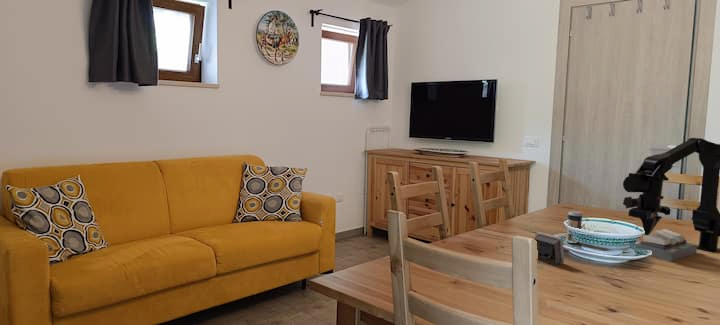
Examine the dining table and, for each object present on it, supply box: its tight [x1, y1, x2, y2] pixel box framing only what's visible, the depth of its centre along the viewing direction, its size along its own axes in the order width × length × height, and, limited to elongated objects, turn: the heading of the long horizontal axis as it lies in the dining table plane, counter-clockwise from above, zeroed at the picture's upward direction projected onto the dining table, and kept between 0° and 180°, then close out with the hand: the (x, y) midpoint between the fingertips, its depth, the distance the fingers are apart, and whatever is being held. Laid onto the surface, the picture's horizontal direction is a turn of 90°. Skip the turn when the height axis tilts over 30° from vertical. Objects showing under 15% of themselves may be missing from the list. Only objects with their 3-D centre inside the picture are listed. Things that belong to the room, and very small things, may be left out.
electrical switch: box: [532, 231, 565, 266], centre depth 158 cm, size 9×5×9 cm, turn 38°
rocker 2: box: [651, 230, 678, 245], centre depth 174 cm, size 4×7×2 cm, turn 35°
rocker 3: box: [659, 228, 686, 242], centre depth 177 cm, size 4×7×2 cm, turn 35°
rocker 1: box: [642, 234, 670, 245], centre depth 171 cm, size 4×7×2 cm, turn 35°
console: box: [634, 239, 698, 262], centre depth 174 cm, size 20×12×4 cm, turn 125°
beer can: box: [565, 210, 583, 242], centre depth 181 cm, size 5×5×12 cm
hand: (646, 234), depth 173 cm, fingers closed
